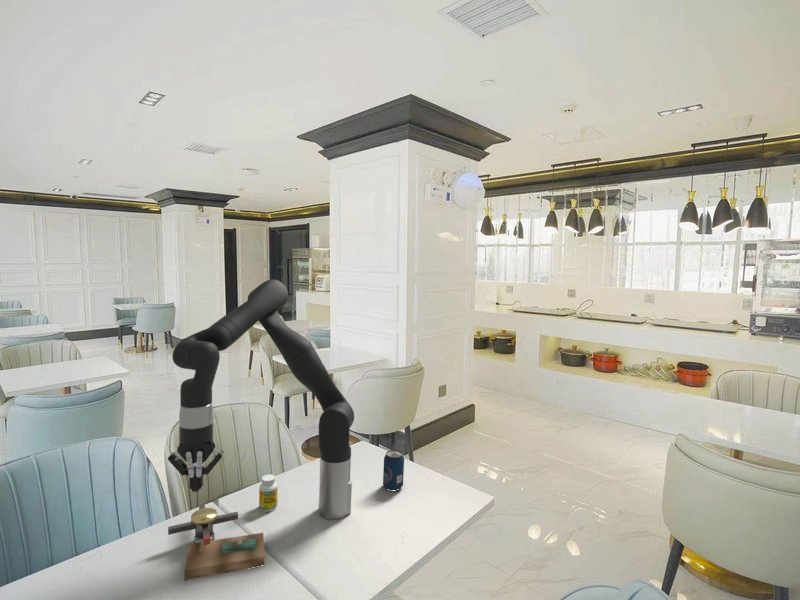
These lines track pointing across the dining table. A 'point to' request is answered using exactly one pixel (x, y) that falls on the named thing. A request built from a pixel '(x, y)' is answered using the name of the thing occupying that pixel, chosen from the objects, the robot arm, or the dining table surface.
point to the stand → (224, 556)
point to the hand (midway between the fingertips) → (196, 489)
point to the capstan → (203, 524)
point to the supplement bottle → (268, 494)
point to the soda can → (393, 470)
